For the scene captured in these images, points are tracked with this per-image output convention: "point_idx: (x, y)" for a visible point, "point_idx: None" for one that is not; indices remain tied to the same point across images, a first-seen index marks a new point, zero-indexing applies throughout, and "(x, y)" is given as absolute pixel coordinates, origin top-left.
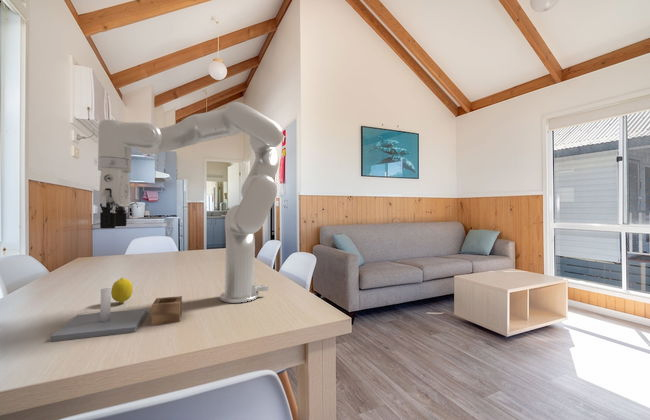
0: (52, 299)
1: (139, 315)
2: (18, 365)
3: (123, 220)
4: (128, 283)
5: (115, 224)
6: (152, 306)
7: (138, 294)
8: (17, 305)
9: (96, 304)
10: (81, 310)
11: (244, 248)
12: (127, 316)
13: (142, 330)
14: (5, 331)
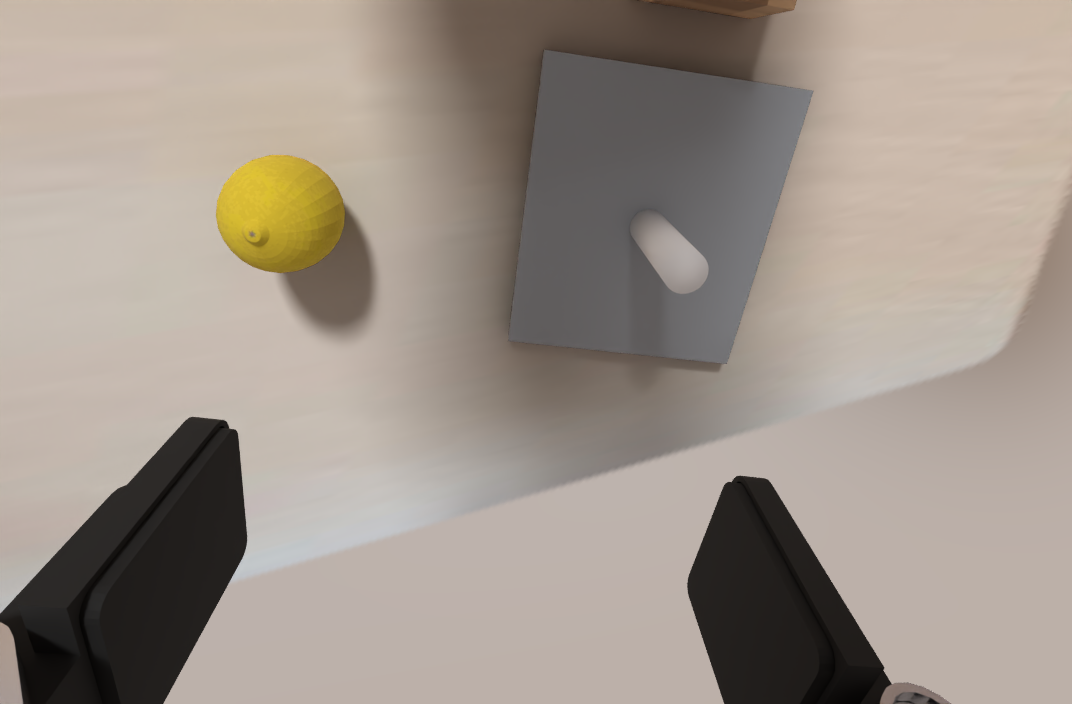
0: None
1: (651, 83)
2: (864, 377)
3: (194, 508)
4: (289, 187)
5: (239, 546)
6: (790, 7)
7: (120, 126)
8: None
9: (294, 308)
10: (377, 346)
11: None
12: (635, 140)
13: (801, 58)
14: (541, 491)
